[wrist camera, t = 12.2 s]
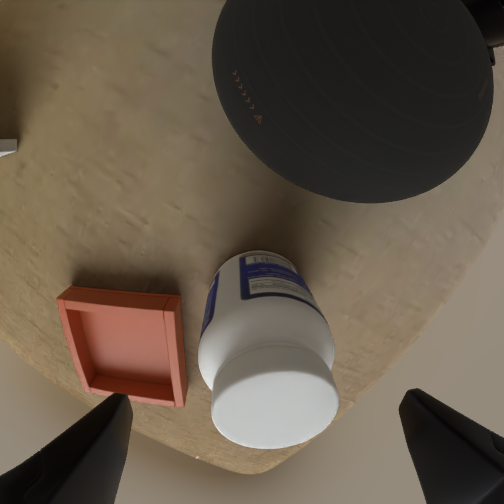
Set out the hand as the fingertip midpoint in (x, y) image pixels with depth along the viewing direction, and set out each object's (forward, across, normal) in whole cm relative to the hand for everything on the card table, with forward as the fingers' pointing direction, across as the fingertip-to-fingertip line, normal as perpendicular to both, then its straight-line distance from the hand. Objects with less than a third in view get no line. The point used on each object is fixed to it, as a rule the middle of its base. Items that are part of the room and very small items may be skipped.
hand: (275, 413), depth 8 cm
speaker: (+9, -2, -11) cm, 14 cm away
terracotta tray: (+9, +8, +4) cm, 13 cm away
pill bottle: (+9, 0, 0) cm, 9 cm away
